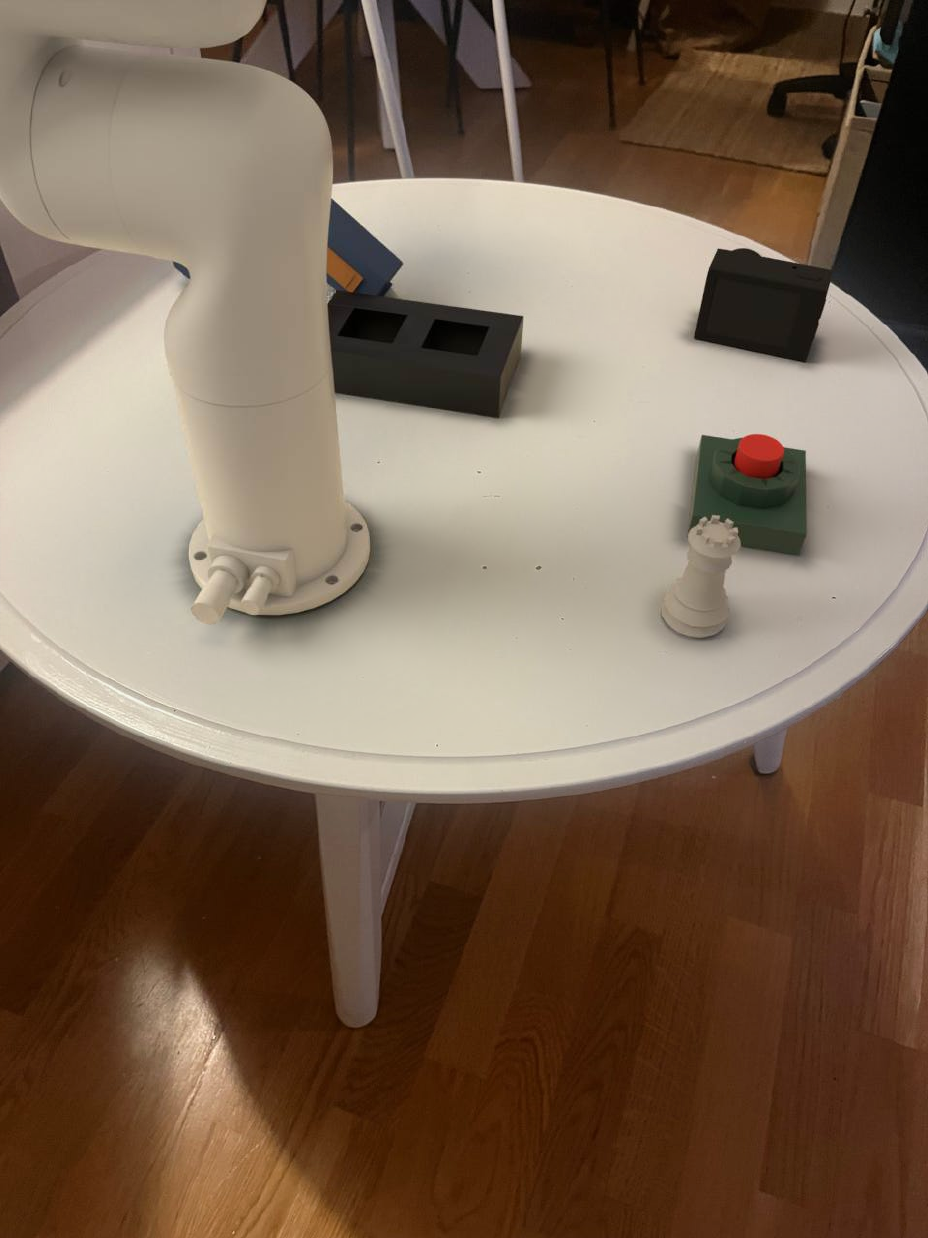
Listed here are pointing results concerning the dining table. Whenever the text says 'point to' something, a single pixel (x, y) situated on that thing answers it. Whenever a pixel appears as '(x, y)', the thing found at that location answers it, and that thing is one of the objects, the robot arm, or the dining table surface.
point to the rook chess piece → (703, 581)
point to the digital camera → (762, 303)
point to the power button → (759, 456)
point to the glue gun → (353, 258)
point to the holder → (423, 352)
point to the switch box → (751, 497)
